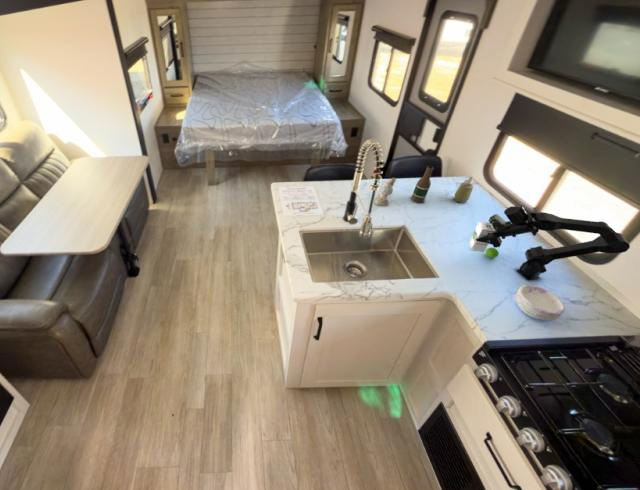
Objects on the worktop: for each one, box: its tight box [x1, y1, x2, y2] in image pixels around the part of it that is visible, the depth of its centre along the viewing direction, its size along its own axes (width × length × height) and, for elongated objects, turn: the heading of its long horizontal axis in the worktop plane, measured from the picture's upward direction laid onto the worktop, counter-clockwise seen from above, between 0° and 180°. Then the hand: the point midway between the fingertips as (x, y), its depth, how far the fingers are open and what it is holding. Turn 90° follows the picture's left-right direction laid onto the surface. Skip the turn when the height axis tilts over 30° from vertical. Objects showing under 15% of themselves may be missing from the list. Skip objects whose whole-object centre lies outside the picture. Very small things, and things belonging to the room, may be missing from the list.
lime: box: [485, 247, 500, 259], centre depth 161 cm, size 5×5×5 cm
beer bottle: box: [411, 165, 434, 204], centre depth 196 cm, size 8×8×24 cm
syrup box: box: [468, 221, 495, 253], centre depth 157 cm, size 6×6×14 cm
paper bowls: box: [513, 284, 566, 322], centre depth 135 cm, size 15×15×8 cm
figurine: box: [374, 177, 397, 206], centre depth 196 cm, size 9×8×20 cm
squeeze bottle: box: [454, 175, 474, 204], centre depth 197 cm, size 8×8×18 cm
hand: (477, 236), depth 157 cm, fingers closed on syrup box, 7 cm apart
